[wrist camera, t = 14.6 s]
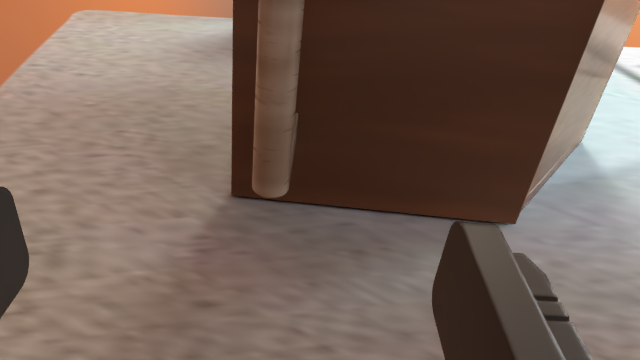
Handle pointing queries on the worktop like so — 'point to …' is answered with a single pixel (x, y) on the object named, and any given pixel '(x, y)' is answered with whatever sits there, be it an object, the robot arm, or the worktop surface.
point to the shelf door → (401, 100)
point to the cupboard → (587, 86)
